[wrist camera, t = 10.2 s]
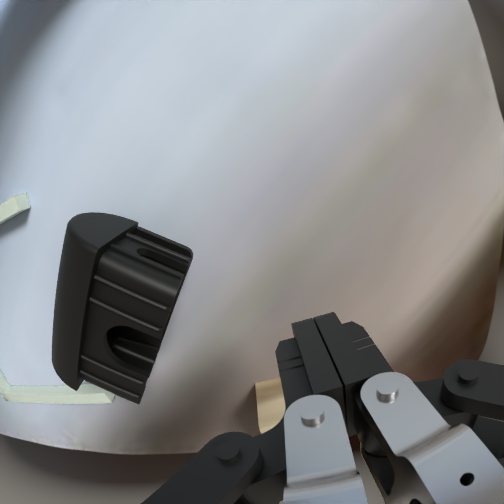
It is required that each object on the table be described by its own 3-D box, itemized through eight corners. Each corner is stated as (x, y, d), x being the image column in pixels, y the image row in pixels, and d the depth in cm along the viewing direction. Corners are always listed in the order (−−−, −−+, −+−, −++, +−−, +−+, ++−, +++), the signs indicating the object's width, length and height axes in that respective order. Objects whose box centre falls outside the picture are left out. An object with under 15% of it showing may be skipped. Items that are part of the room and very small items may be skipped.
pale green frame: (-59, 251, 18) (-68, 255, 16) (26, 192, 17) (14, 195, 16) (11, 393, 23) (5, 400, 22) (116, 391, 22) (111, 402, 21)
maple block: (255, 382, 23) (258, 428, 18) (315, 367, 22) (330, 410, 18) (269, 418, 24) (274, 461, 19) (322, 405, 24) (335, 446, 19)
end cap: (102, 203, 18) (45, 225, 11) (198, 243, 19) (178, 285, 12) (77, 321, 20) (36, 370, 14) (156, 357, 21) (134, 419, 15)
